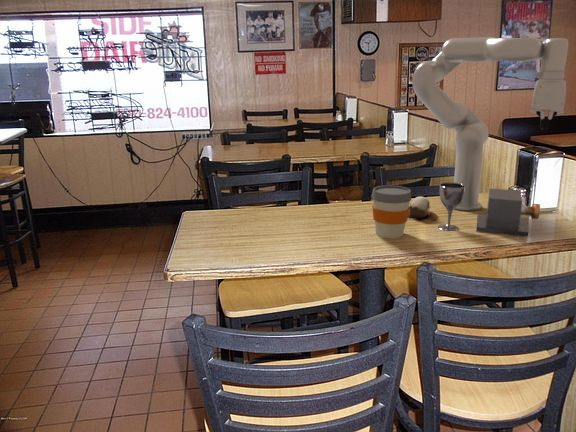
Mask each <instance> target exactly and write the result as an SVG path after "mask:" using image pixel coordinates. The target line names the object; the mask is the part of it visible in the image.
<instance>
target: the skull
mask: <svg viewBox="0 0 576 432" xmlns="http://www.w3.org/2000/svg"><path fill="white" fill-rule="evenodd" d="M430 203H431V202H430V201H429V199H428V198H426V197H424V196H416V197H415V198H414V199H412V201H410V203H409V207H410V209H409V214H408V219H412V220H416V221H420V222H433V221H435V220H436V219H438V214H436V213H435V212H433V211H430V208H431V205H430Z"/></svg>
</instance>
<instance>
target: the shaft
mask: <svg viewBox="0 0 576 432" xmlns="http://www.w3.org/2000/svg"><path fill="white" fill-rule="evenodd" d="M540 210H541V204H539V203H532V205H531V206H529V205H522V208H521V215H522V216H530V219H533V220H539V217H540V212H541V211H540ZM487 212H488V210H487V209H486V213H487ZM521 215H520V216H521Z"/></svg>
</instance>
